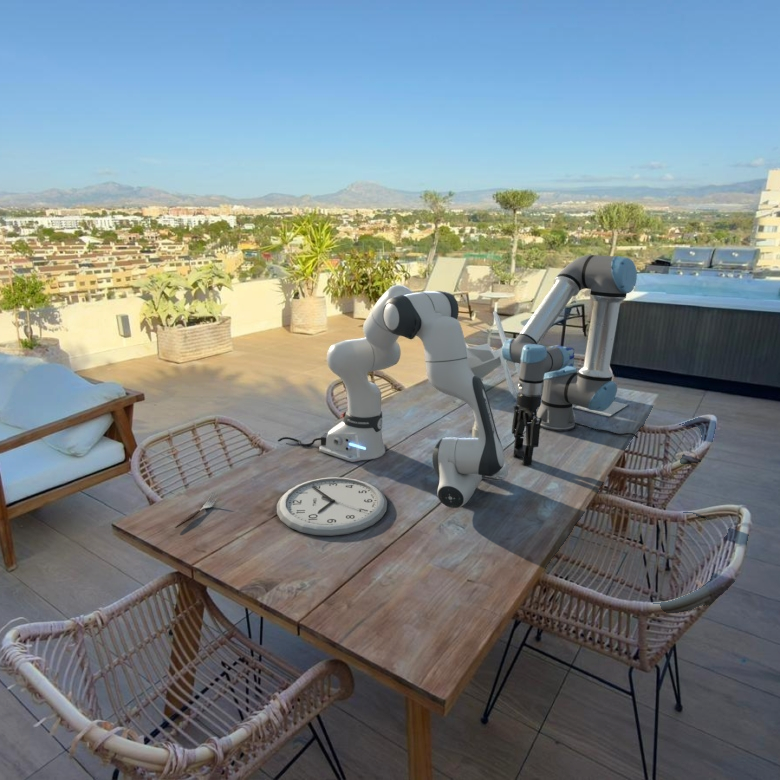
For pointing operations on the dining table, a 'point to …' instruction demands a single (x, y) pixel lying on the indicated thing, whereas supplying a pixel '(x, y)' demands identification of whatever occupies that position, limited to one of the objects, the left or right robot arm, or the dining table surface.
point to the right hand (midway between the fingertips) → (522, 460)
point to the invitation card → (609, 411)
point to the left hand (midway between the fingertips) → (479, 454)
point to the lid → (519, 450)
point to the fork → (206, 505)
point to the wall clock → (331, 506)
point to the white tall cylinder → (475, 431)
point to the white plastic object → (490, 358)
